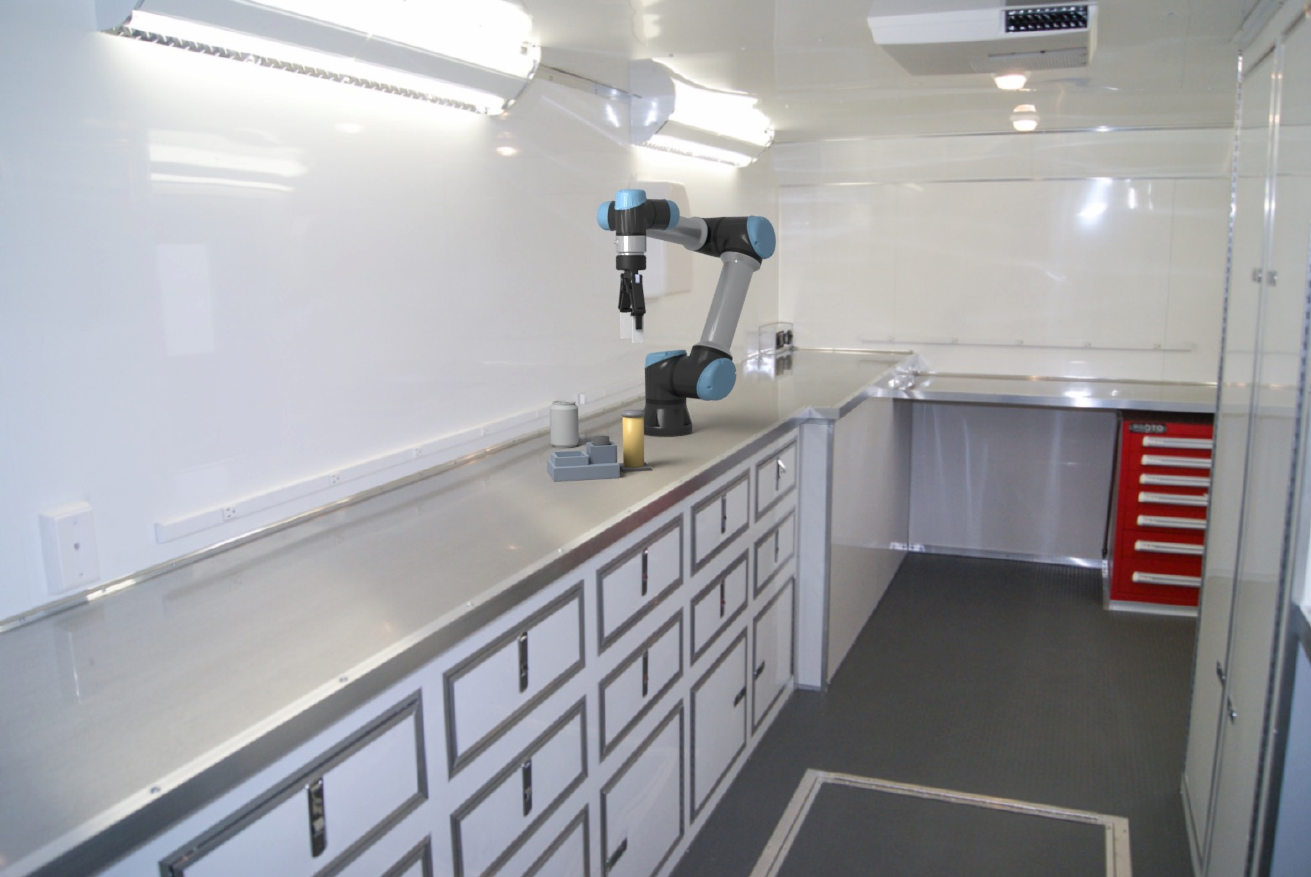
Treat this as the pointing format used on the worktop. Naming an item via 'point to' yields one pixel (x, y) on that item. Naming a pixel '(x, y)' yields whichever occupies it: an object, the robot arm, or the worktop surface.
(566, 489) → the worktop surface
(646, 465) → the mat
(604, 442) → the plunger
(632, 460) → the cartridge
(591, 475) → the housing
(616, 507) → the worktop surface
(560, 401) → the can
